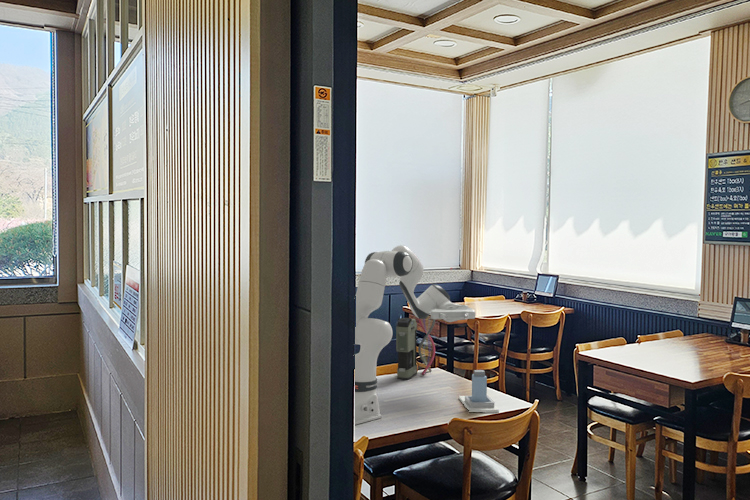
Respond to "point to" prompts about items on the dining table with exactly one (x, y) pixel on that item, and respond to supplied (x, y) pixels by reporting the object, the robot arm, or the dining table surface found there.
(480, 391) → the blue-gray rectangular block
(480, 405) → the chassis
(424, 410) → the dining table surface
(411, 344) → the device
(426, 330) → the dna model
